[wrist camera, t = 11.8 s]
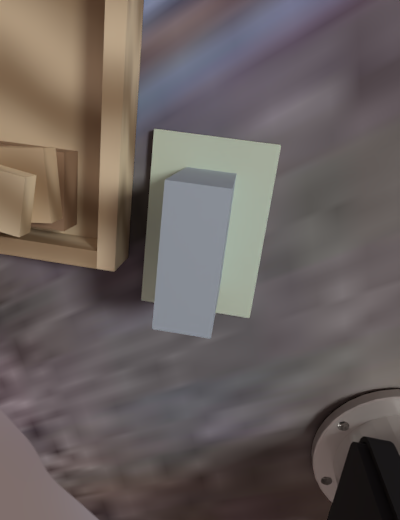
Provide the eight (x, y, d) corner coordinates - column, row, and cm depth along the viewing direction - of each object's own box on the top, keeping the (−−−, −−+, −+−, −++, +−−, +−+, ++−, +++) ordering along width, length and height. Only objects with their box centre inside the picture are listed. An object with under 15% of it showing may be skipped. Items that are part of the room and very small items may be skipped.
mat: (249, 314, 28) (249, 318, 27) (142, 297, 28) (141, 300, 28) (280, 144, 24) (281, 145, 23) (155, 128, 24) (153, 128, 24)
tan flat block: (76, 224, 27) (64, 231, 25) (-31, 208, 27) (-51, 213, 25) (77, 151, 25) (64, 152, 23) (-37, 135, 26) (-59, 136, 24)
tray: (128, 257, 27) (114, 271, 25) (-71, 226, 29) (-106, 236, 26) (148, -85, 21) (133, -119, 18) (-111, -107, 22) (-164, -142, 19)
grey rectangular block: (219, 288, 27) (210, 338, 20) (175, 281, 27) (152, 328, 21) (236, 173, 24) (232, 189, 18) (187, 166, 24) (164, 179, 18)
